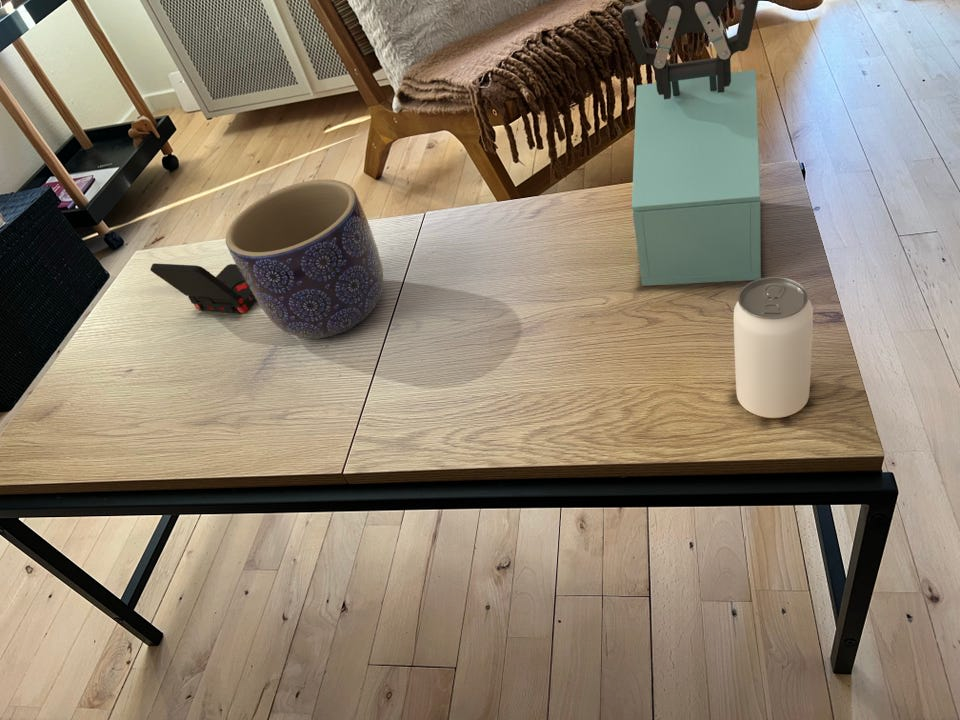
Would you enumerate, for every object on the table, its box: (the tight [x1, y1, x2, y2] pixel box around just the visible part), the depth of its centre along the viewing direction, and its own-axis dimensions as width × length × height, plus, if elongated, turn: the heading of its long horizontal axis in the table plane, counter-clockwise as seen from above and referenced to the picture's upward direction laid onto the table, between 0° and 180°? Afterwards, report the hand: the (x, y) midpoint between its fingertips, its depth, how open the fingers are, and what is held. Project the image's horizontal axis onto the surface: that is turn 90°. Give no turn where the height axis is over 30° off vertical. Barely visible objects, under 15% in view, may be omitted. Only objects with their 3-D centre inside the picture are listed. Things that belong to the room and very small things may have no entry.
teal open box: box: [632, 200, 762, 287], centre depth 91 cm, size 16×13×10 cm
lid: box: [631, 57, 761, 212], centre depth 83 cm, size 17×13×5 cm
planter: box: [225, 179, 385, 340], centre depth 97 cm, size 16×16×15 cm
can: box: [733, 276, 814, 419], centre depth 70 cm, size 6×6×12 cm
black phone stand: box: [149, 262, 257, 315], centre depth 107 cm, size 9×12×10 cm
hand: (694, 92), depth 86 cm, fingers closed on lid, 5 cm apart
